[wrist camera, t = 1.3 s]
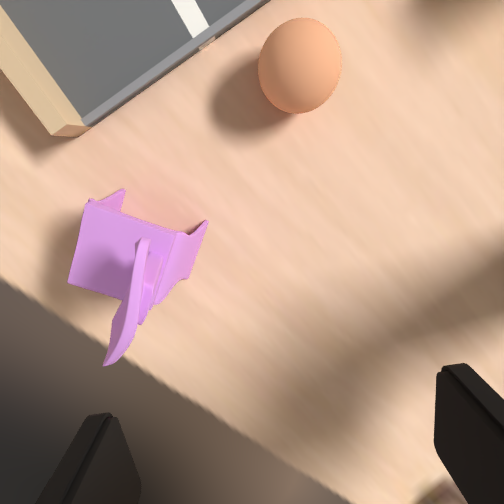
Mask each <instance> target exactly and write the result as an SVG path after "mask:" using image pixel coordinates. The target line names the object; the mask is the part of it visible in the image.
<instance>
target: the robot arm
mask: <svg viewBox="0 0 504 504" xmlns="http://www.w3.org/2000/svg"><path fill="white" fill-rule="evenodd" d="M434 446H435V449H436V452H437V454H438V456H439V458H440V459H441V461H442V463H443V464H444V466H445V467H446V469H447V471H448V472H449V474H450V475H451V477H452V479H453V480H454V482H455V483H456V485H457V487H458V488H459V490H460V491H461V493H462V495H463V496H464V498H465V499H466V501H467V503H468V504H504V399H503V398H502V397H501V396H500V395H499V394H498V393H496V392H495V391H494V390H493V389H492V388H491V387H490V386H489V385H488V384H487V383H486V382H485V381H484V380H483V379H482V378H481V377H480V376H479V375H478V374H477V373H476V372H475V371H474V370H473V369H472V368H471V367H470V366H469V365H467V364H465V363H461V364H454V365H447V366H443V367H442V370H441V372H438V373H437V376H436V400H435V425H434ZM140 494H141V481H140V477H139V475H138V472H137V469H136V467H135V464H134V461H133V458H132V456H131V453H130V450H129V447H128V445H127V442H126V440H125V437H124V434H123V431H122V429H121V426H120V423H119V420H118V418H117V417H113V416H112V414H110V413H101V414H94V415H89V416H88V417H87V418H86V419H85V421H84V422H83V424H82V426H81V427H80V429H79V431H78V432H77V434H76V436H75V438H74V439H73V441H72V443H71V444H70V446H69V448H68V450H67V451H66V453H65V455H64V457H63V458H62V460H61V462H60V463H59V465H58V467H57V469H56V470H55V472H54V474H53V476H52V477H51V479H50V480H49V481H48V483H47V485H46V487H45V488H44V490H43V492H42V493H41V495H40V497H39V498H38V500H37V502H36V503H35V504H138V501H139V498H140Z"/></svg>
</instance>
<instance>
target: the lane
mask: <svg viewBox="0 0 504 504" xmlns="http://www.w3.org/2000/svg"><path fill="white" fill-rule="evenodd" d="M269 1H270V0H0V69H1V70H2V71H3V73H4V74H5V75H6V77H7V78H8V79H9V80H10V82H11V83H12V84H13V86H14V87H15V88H16V90H17V91H18V92H19V94H20V95H21V96H22V98H23V99H24V100H25V102H26V103H27V104H28V105H29V107H30V108H31V109H32V111H33V112H34V113H35V115H36V116H37V117H38V119H39V120H40V121H41V123H42V124H43V125H44V127H45V128H46V129H47V130H48V132H49V133H50V134H51V136H72V137H79V136H80V135H82V134H83V133H85V132H86V131H87V130H89V129H90V128H92V127H93V126H94V125H96V124H97V123H99V122H100V121H101V120H103V119H104V118H106V117H107V116H108V115H110V114H111V113H113V112H114V111H116V110H117V109H118V108H120V107H121V106H123V105H124V104H125V103H127V102H128V101H130V100H131V99H132V98H134V97H135V96H137V95H138V94H139V93H141V92H142V91H144V90H145V89H146V88H148V87H149V86H151V85H152V84H153V83H155V82H156V81H158V80H159V79H161V78H162V77H163V76H165V75H166V74H168V73H169V72H170V71H172V70H173V69H175V68H176V67H177V66H179V65H180V64H182V63H183V62H184V61H186V60H187V59H189V58H190V57H191V56H193V55H194V54H196V53H197V52H198V51H200V50H201V49H203V48H204V47H206V46H207V45H208V44H210V43H211V42H213V41H214V40H215V39H217V38H218V37H220V36H221V35H222V34H224V33H225V32H227V31H228V30H229V29H231V28H232V27H234V26H235V25H236V24H238V23H239V22H241V21H242V20H243V19H245V18H246V17H248V16H249V15H251V14H252V13H253V12H255V11H256V10H258V9H259V8H260V7H262V6H263V5H265V4H266V3H267V2H269Z"/></svg>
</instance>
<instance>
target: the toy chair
mask: <svg viewBox="0 0 504 504" xmlns="http://www.w3.org/2000/svg"><path fill="white" fill-rule="evenodd" d="M125 191H126V190H124V189H120V190H119V191H117V192H115V193H114V194H112V195H111V196H109V197H107V198H105V199H103V200H100V201H95V200H94V199H90V198H89V200H88V203H86V204H85V208H84V212H83V217H82V221H81V226H80V232H79V237H78V241H77V245H76V250H75V254H74V257H73V261H72V265H71V269H70V273H69V277H68V281H67V283H69V284H72V285H75V286H78V287H81V288H85V289H88V290H92V291H95V292H99V293H102V294H105V295H108V296H111V297H114V298H117V299H120V300H123V301H122V303H121V305H120V306H119V308H118V310H117V312H116V314H115V316H114V318H113V320H112V328H111V337H110V343H109V348H108V352H107V355H106V358H105V360H104V363H103V366H107V365H110V364H112V363H115V362H116V361H117V360H118V359H119V358H120V357H121V356H122V355H123V353H124V352H125V351H126V350H127V348H128V347H129V345H130V343H131V342H132V340H133V338H134V335H135V332H136V329H137V324H139V325H141V324H142V323H143V322H144V320H145V318H146V316H147V313H148V310H151V308H152V307H153V305H156V304H159V303H161V302H162V301H163V300H164V299H165V297H166V296H167V295H168V293H169V292H170V291H171V289H172V288H173V286H174V285H175V284H176V283H177V282H178V281H179V280H181V279H188V278H189V275H190V273H191V270H192V267H193V264H194V261H195V259H196V256H197V253H198V250H199V247H200V245H201V242H202V239H203V236H204V234H205V231H206V228H207V225H208V222H209V221H207V220H205V221H204V222H203V223H202V224H201V225H200V226H199V228H198V229H197V230H196V231H195V232H193V233H192V234H191V235H187V234H185V233H184V232H181V231H175V230H170V229H167V228H164V227H161V226H158V225H155V224H152V223H149V222H146V221H143V220H140V219H138V218H135V217H132V216H129V215H127V214H124V213H122V212H120V210H121V206H122V203H123V199H124V195H125Z"/></svg>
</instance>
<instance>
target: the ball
mask: <svg viewBox="0 0 504 504" xmlns="http://www.w3.org/2000/svg"><path fill="white" fill-rule="evenodd" d="M341 68H342V57H341V51H340V47H339V44H338V42H337V40H336V38H335V36H334V35H333V33H332V32H331V31H330V30H329V28H328V27H326V26H325V25H324V24H322V23H320V22H319V21H316V20H314V19H309V18H296V19H292V20H289V21H287V22H285V23H283V24H281V25H280V26H279V27H277V28H276V29H275V30H274V31H273V32H272V33H271V34H270V36H269V37H268V38H267V40H266V42H265V43H264V45H263V48H262V50H261V53H260V57H259V62H258V76H259V81H260V85H261V88H262V90H263V92H264V94H265V96H266V97H267V99H268V100H269V101H270V102H271V103H272V104H273V105H274V106H275V107H277V108H278V109H280V110H282V111H285V112H288V113H296V114H298V113H305V112H309V111H312V110H314V109H316V108H318V107H319V106H320V105H322V104H323V103H324V102H325V101H326V100H327V99H328V98H329V97H330V96H331V94H332V93H333V91H334V90H335V88H336V86H337V84H338V81H339V78H340V74H341Z"/></svg>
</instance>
